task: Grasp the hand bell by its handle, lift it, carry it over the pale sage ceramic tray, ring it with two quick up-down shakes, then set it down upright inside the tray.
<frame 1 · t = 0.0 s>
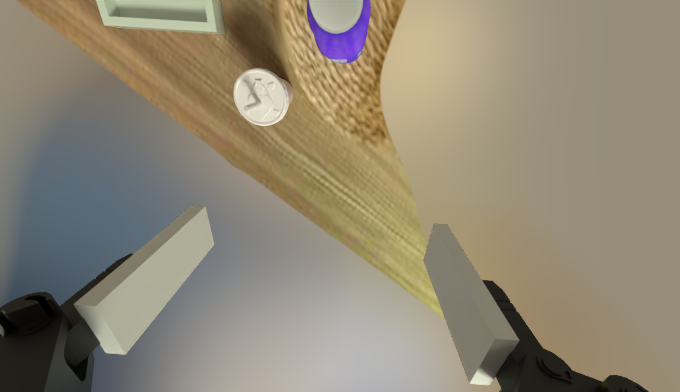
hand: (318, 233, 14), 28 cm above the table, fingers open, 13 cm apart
bottle: (343, 33, 33), on the table
smoothie: (281, 92, 37), on the table
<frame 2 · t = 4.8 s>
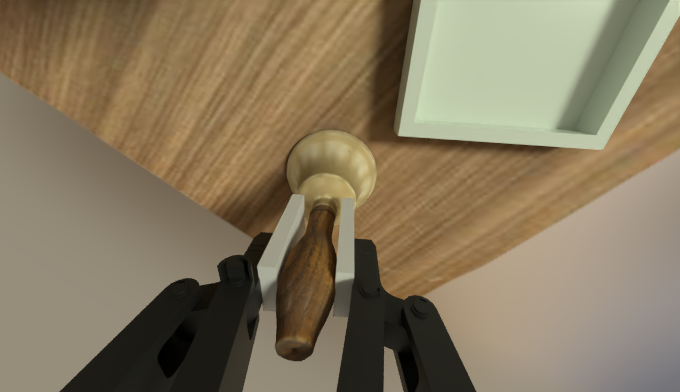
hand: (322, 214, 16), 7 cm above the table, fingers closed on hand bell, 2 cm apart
tray: (519, 25, 17), on the table
hand bell: (331, 174, 22), on the table, touching gripper
when the fingers open (9 cm above the table, at t = 11.7 s): hand bell drops 1 cm, resting on tray.
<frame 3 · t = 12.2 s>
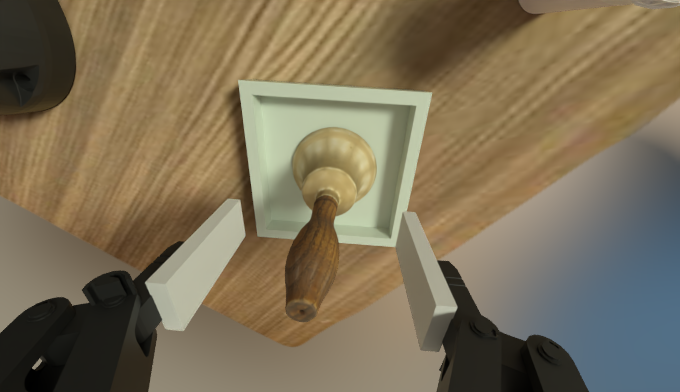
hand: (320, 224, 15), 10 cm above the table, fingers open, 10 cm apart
tray: (332, 166, 24), on the table
hand bell: (334, 169, 24), resting on tray
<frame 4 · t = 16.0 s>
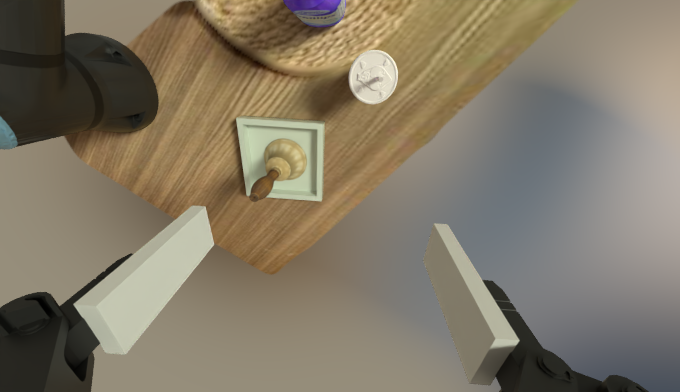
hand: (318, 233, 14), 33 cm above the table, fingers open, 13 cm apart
bottle: (321, 5, 36), on the table
tray: (285, 158, 47), on the table
smoothie: (368, 77, 40), on the table
hand bell: (285, 159, 46), resting on tray
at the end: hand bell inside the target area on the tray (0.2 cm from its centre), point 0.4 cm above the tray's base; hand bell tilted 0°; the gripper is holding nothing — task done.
